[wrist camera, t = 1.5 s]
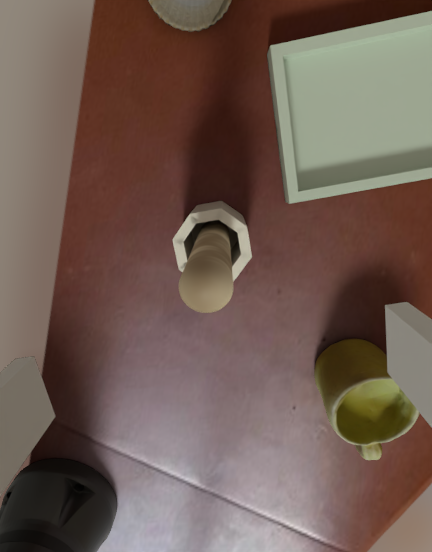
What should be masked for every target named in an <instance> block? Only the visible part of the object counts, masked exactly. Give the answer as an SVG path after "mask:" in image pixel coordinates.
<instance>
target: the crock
mask: <svg viewBox="0 0 432 552" xmlns="http://www.w3.org/2000/svg"><path fill="white" fill-rule="evenodd" d="M213 220H220V221H221V222H223V223H224V224H226V225H227V227H228V229H229V234H230V248H231V261H232V275H233V281H234V280H235V279H236V278H237V276H238V275H239V274H240V272H241V271H242V270H243V268H244V267H245V266H246V264H247V263H248V261H249V260H250V259H251V257H252V255H251V249H250V242H249V236H248V230H247V225H246V223H245V220H244V218H243V215H241V214H240V213H239V212H237V211H236V210H234V209H233V208H232V207H230V206H229V205H227V204H226V203H224V202H223V201H217V202H212V203H206V204H201V205H197V206H196V207H195V208H194V209H193V211H192V212H191V213H190V214H189V216H188V217H187V219H186V220H185V222H184V223H183V225H182V226H181V228H180V229H179V231H178V232H177V234H176V235H175V237H174V238H173V245H174V249H175V254H176V258H177V263H178V267H179V270H181V271H182V272H183V270H184V268H185V266H186V263H187V261H188V258H189V256H190V253H191V251H192V249H193V246H194V244H195V241H196V239H197V237H198V234H199V232H200V229H201V227H202V226H203V224H204V223H205V222H208V221H213Z"/></svg>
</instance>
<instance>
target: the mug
mask: <svg viewBox="0 0 432 552" xmlns="http://www.w3.org/2000/svg"><path fill="white" fill-rule="evenodd" d="M314 374H315V382H316V385H317V387H318V390H319V392H320V394H321V396H322V399H323V402H324V406H325V409H326V413H327V416H328V419H329V422H330V424H331V426H332V427H333V429H334V431H335V432H336V433H337V434H338V435H339V436H340V437H341V438H342V439H344V440H345V441H347V442H349V443H351V444H355V447H356V449H357V451H358V452H359V453H360V455H361V456H362V457H363V458H364V459H366V460H378V459H379V458H380V457H381V454H382V446H381V444H380V443H384V442H389V441H392V440H393V439H395V438H398V437H400V436H401V435H402V434H405V433H406V432H407V431H408V430H409V429H410V428H412V426H413V425H414V423H415V422H416V420H417V418H418V416H419V413H420V412H419V411H418V410H417V409H416V407H415V406H414V405H413V404H412V402H411V401H410V400H409V399H408V397H407V396H406V395H405V394H404V392H403V391H402V390H401V389H400V388H399V386H398V385H397V384H396V383H395V381H394V380H393V379H392V378H391V376H390V375H389V374H388V372H387V355H386V354H385V353H384V352H383V351H382V350H381V349H380V348H378V347H377V346H376V345H374V344H373V343H370V342H368V341H366V340H363V339H356V338H354V339H345V340H342V341H340V342H338V343H335V344H332V345H330V346H329V347H328V348H327V349H326V350H324V351H323V352H322V353H321V354H320V356H319V357H318V359H317V361H316V364H315V371H314Z"/></svg>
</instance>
